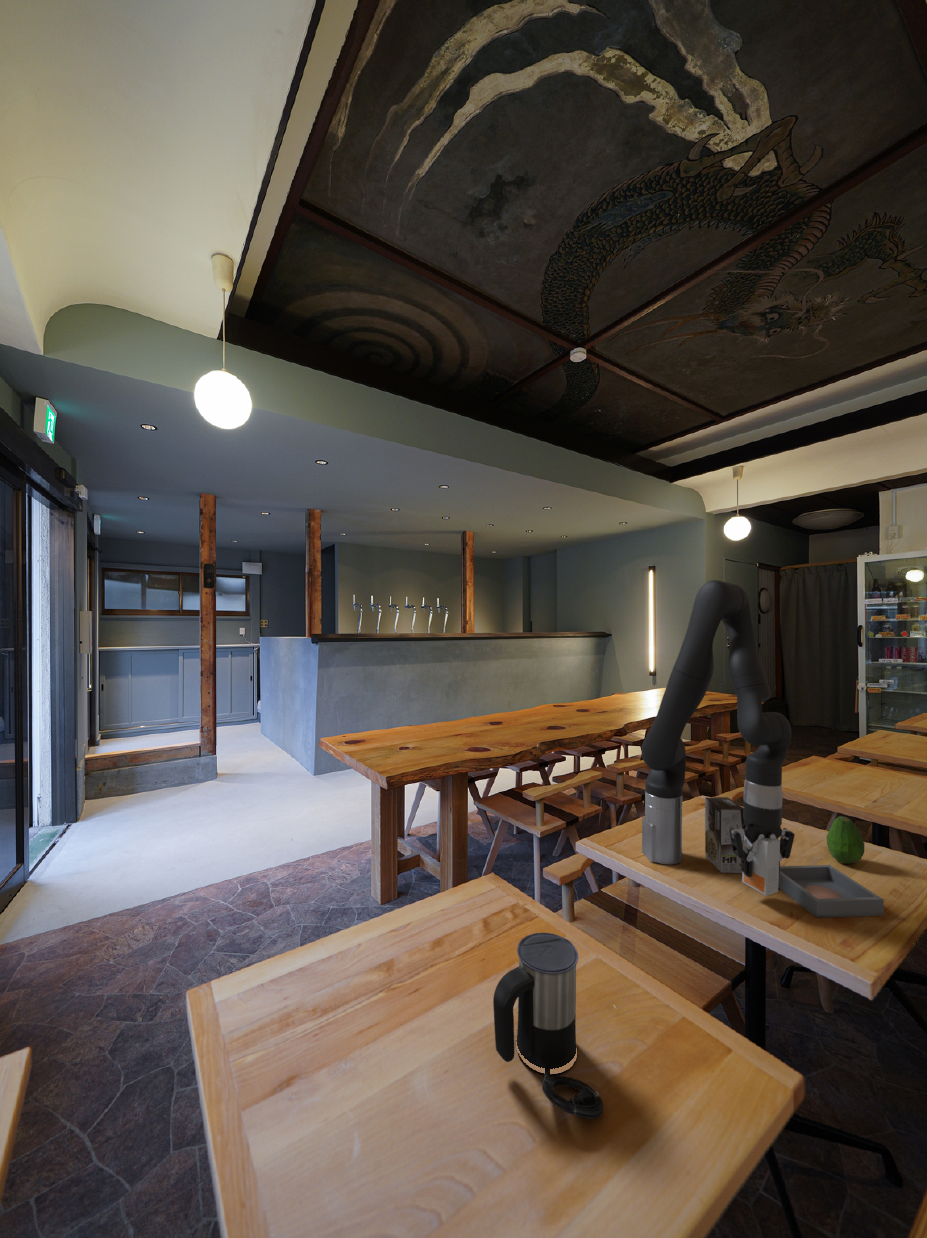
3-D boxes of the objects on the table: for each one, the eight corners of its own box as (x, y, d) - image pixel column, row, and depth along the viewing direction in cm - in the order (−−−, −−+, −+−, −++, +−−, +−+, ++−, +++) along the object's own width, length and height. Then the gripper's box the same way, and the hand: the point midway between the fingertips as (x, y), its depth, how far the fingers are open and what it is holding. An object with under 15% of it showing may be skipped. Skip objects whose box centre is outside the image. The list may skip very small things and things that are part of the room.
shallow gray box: (816, 918, 109) (817, 901, 109) (770, 881, 124) (770, 866, 124) (883, 915, 110) (883, 899, 109) (829, 879, 125) (829, 864, 124)
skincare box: (741, 883, 117) (742, 831, 116) (754, 879, 118) (755, 828, 118) (766, 897, 111) (767, 842, 111) (779, 893, 113) (781, 839, 112)
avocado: (821, 861, 133) (822, 815, 133) (832, 852, 138) (832, 808, 138) (859, 873, 127) (859, 826, 127) (868, 864, 132) (869, 818, 132)
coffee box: (746, 873, 127) (746, 809, 127) (720, 873, 127) (720, 809, 127) (728, 856, 136) (728, 796, 136) (704, 856, 136) (704, 796, 136)
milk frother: (536, 1014, 83) (537, 924, 82) (632, 1070, 73) (632, 967, 72) (483, 1075, 72) (483, 971, 72) (586, 1151, 62) (587, 1030, 61)
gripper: (741, 807, 110) (739, 885, 111) (805, 807, 111) (803, 884, 111) (722, 795, 118) (720, 867, 118) (782, 795, 118) (780, 866, 119)
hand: (760, 875), depth 115 cm, fingers closed on skincare box, 5 cm apart
